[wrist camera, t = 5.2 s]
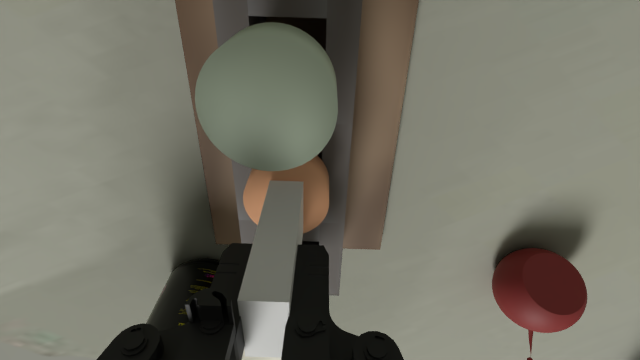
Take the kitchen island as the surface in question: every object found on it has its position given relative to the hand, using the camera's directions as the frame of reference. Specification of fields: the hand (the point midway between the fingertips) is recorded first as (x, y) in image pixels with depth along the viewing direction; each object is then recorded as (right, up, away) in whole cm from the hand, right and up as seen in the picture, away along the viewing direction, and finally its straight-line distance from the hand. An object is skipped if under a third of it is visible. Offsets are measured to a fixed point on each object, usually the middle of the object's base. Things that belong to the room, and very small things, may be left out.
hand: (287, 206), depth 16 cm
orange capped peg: (0, +4, +6) cm, 7 cm away
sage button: (0, +7, -1) cm, 7 cm away
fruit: (+18, -7, +14) cm, 24 cm away
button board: (0, +4, +7) cm, 8 cm away
